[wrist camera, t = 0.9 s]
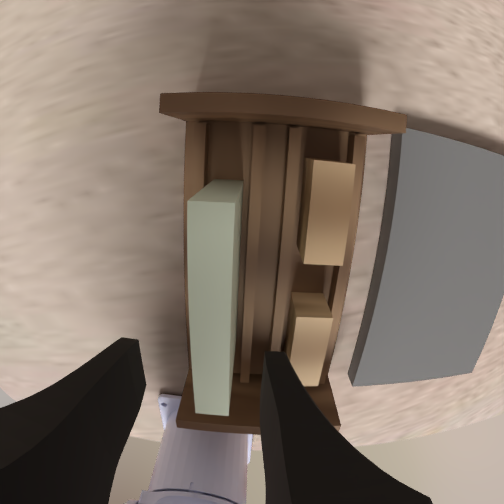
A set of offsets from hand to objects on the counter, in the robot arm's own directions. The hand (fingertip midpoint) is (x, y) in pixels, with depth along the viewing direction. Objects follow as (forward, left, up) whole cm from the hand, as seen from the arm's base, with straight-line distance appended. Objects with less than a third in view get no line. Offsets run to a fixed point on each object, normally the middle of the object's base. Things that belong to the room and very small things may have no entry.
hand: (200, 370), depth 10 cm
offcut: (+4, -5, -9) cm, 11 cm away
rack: (0, -2, -10) cm, 11 cm away
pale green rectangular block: (0, 0, -9) cm, 9 cm away
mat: (0, -15, -10) cm, 19 cm away
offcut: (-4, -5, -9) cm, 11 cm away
